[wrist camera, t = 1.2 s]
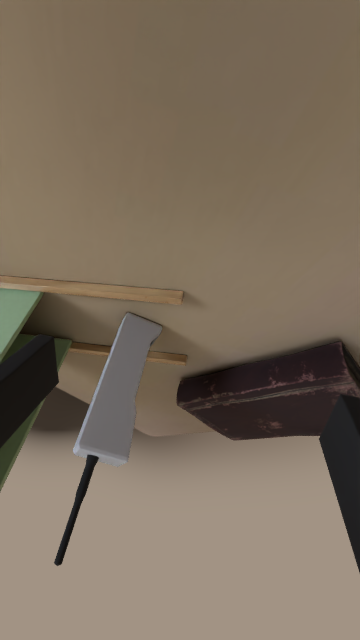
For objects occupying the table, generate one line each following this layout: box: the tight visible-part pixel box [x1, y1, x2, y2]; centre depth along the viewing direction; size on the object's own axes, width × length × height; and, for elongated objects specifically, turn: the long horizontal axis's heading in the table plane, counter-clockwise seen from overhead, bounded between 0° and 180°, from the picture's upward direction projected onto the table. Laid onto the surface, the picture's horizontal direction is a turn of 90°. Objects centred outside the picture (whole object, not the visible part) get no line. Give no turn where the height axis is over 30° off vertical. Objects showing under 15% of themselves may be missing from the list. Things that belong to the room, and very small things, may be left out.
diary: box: [177, 342, 360, 440], centre depth 44 cm, size 19×25×5 cm
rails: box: [0, 276, 187, 366], centre depth 40 cm, size 14×30×1 cm, turn 93°
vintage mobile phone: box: [54, 312, 162, 566], centre depth 31 cm, size 4×5×25 cm
